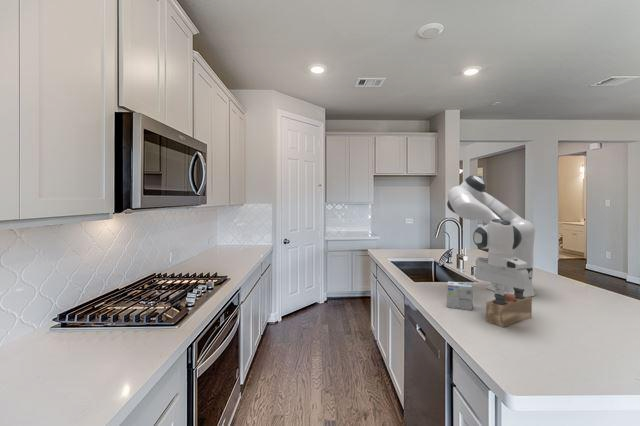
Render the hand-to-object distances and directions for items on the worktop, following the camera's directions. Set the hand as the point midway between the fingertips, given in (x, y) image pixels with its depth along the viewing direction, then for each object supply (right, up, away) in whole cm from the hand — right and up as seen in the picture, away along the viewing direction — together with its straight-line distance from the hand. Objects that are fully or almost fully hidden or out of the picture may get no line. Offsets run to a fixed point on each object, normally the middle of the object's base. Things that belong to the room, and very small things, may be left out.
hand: (499, 294), depth 128 cm
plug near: (0, -8, 0) cm, 8 cm away
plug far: (+12, -7, +7) cm, 16 cm away
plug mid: (+6, -9, +4) cm, 12 cm away
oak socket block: (+6, -11, +4) cm, 13 cm away
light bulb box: (-8, -11, +20) cm, 24 cm away
